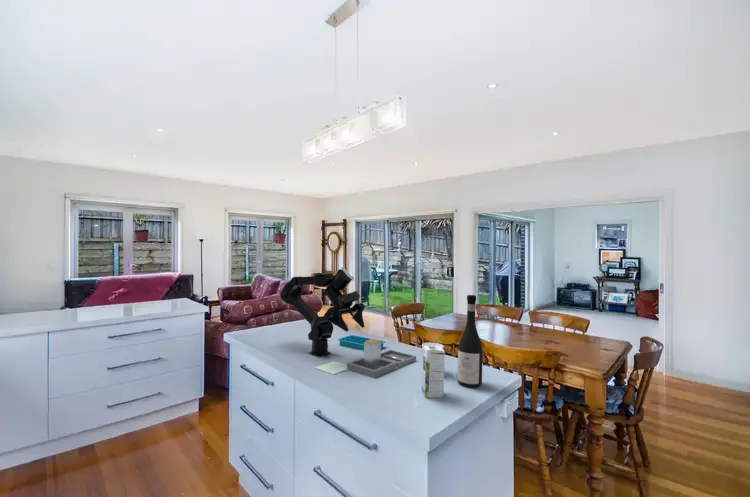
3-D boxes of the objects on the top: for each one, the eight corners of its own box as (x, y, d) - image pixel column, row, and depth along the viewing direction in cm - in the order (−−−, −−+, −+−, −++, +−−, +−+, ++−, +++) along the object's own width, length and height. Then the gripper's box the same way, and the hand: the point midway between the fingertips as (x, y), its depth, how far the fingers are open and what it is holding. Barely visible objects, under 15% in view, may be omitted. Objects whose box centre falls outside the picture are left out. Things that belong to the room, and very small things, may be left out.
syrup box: (421, 390, 112) (422, 345, 112) (439, 390, 112) (440, 345, 112) (425, 398, 106) (426, 350, 106) (444, 397, 106) (445, 350, 106)
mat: (314, 368, 129) (314, 367, 129) (334, 362, 137) (334, 361, 137) (333, 375, 123) (333, 373, 123) (352, 368, 131) (352, 367, 131)
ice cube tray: (372, 353, 151) (372, 346, 151) (336, 345, 162) (336, 339, 162) (386, 348, 161) (386, 341, 161) (351, 340, 172) (351, 334, 172)
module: (363, 369, 129) (364, 341, 129) (372, 366, 133) (372, 338, 133) (371, 372, 127) (372, 343, 127) (380, 368, 131) (381, 340, 131)
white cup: (444, 370, 131) (445, 343, 131) (441, 377, 123) (441, 349, 124) (423, 367, 133) (424, 341, 134) (419, 374, 126) (419, 346, 126)
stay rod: (383, 357, 143) (383, 354, 143) (385, 356, 144) (385, 354, 144) (403, 362, 137) (403, 359, 137) (404, 361, 138) (404, 359, 138)
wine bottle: (477, 390, 113) (480, 297, 113) (454, 385, 117) (456, 295, 117) (484, 383, 119) (486, 295, 120) (461, 378, 124) (463, 293, 124)
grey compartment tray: (347, 369, 129) (347, 362, 129) (390, 354, 150) (390, 348, 150) (374, 378, 121) (374, 371, 121) (416, 361, 141) (416, 354, 141)
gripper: (329, 286, 132) (350, 319, 125) (362, 283, 146) (382, 313, 139) (315, 304, 137) (334, 337, 130) (348, 300, 151) (367, 329, 144)
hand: (355, 329), depth 135 cm, fingers open, 9 cm apart
